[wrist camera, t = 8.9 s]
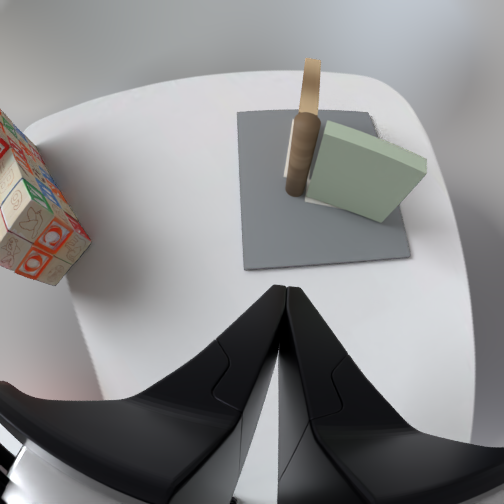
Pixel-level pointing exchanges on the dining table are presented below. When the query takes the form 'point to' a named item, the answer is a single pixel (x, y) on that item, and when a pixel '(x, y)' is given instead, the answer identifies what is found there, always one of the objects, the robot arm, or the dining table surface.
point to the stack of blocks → (34, 213)
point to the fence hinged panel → (363, 172)
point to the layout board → (302, 202)
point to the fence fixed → (304, 130)
